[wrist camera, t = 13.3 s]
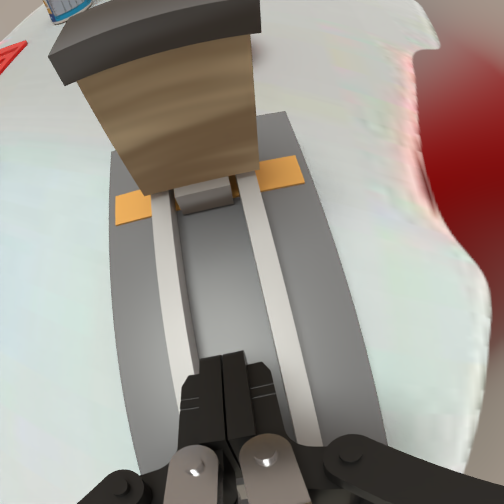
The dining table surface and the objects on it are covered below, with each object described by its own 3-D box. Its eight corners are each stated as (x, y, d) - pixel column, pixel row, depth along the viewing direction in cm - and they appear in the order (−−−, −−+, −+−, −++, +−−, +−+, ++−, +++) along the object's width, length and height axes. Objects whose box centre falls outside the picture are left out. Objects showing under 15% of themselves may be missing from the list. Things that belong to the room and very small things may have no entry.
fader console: (383, 510, 13) (410, 539, 9) (186, 547, 13) (165, 581, 9) (284, 140, 23) (285, 94, 19) (126, 176, 23) (102, 137, 18)
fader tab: (268, 196, 17) (261, -2, 7) (150, 222, 17) (46, 59, 7) (254, 147, 19) (238, -31, 8) (147, 171, 19) (70, 15, 8)
